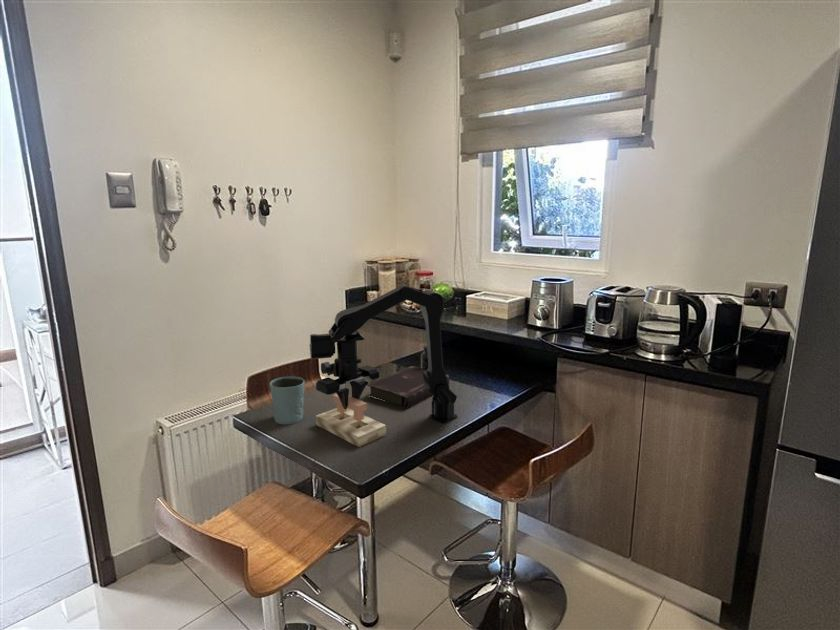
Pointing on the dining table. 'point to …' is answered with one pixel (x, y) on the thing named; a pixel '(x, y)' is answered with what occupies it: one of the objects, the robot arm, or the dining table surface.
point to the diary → (402, 387)
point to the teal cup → (287, 399)
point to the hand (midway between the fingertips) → (349, 407)
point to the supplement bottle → (424, 358)
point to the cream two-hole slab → (351, 426)
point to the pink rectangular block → (352, 406)
